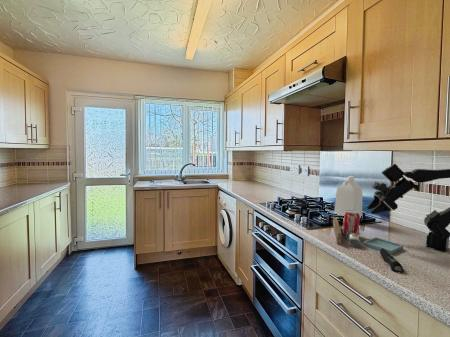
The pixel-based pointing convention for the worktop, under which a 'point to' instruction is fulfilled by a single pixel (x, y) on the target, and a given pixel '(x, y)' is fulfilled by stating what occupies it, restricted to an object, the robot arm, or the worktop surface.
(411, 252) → the worktop surface
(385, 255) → the electric trimmer
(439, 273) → the worktop surface
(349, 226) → the soda can
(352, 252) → the worktop surface
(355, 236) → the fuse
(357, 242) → the clip rack
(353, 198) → the milk
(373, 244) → the tray
